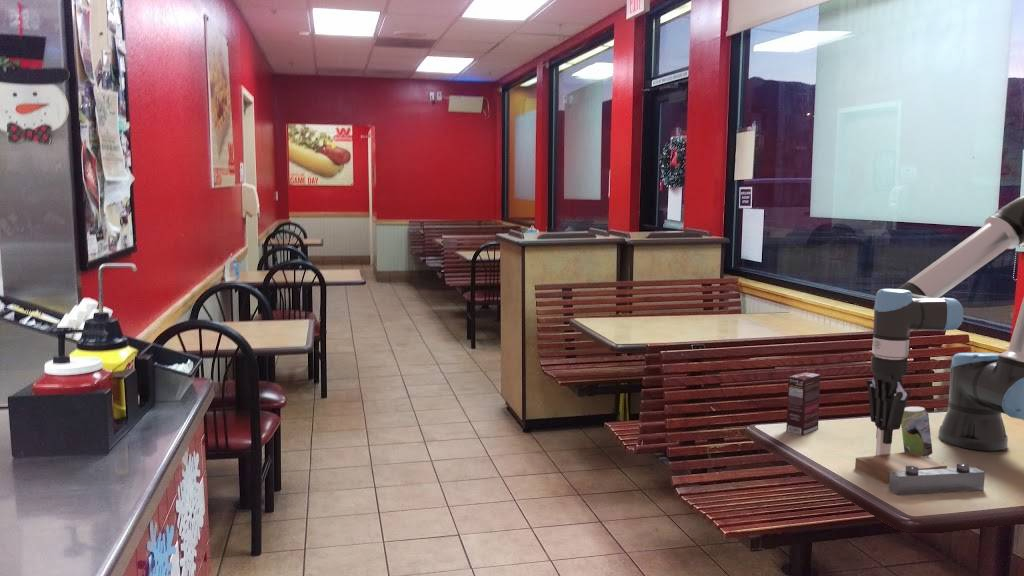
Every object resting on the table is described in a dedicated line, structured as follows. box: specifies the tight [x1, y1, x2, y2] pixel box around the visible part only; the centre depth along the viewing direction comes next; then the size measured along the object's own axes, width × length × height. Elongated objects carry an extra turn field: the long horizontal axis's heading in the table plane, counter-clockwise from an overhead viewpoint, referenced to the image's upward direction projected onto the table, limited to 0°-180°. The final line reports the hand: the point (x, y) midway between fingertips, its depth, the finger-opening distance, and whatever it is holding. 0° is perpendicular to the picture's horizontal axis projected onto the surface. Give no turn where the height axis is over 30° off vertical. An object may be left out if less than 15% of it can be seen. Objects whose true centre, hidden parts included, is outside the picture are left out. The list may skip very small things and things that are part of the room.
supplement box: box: [785, 371, 821, 436], centre depth 202 cm, size 9×5×16 cm, turn 131°
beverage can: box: [900, 405, 933, 458], centre depth 185 cm, size 6×7×12 cm
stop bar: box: [888, 462, 986, 496], centre depth 164 cm, size 20×3×5 cm, turn 99°
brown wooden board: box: [854, 451, 948, 485], centre depth 174 cm, size 16×10×3 cm, turn 107°
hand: (882, 455), depth 180 cm, fingers closed
